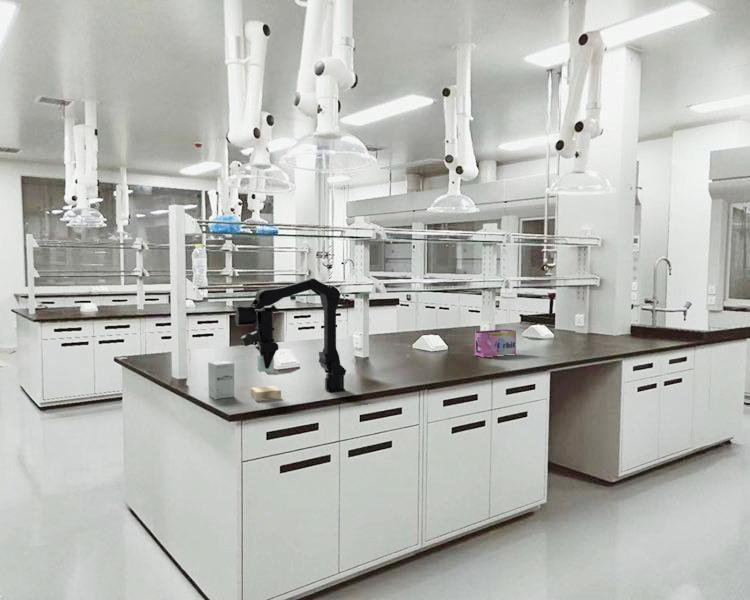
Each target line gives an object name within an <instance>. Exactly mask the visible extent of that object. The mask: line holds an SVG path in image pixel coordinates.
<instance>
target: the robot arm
mask: <svg viewBox="0 0 750 600" xmlns="http://www.w3.org/2000/svg"><path fill="white" fill-rule="evenodd" d="M310 290H311V291H312V292H313V293H315V294H316V295H317V296H319V299H320V303H321V306H322V309H323V343H324V344H323V345H324V346H323V349H322V351H319V352H318V356H319V358H318V363H319V365H320V367H321V368H322V369H323V370H324V372H325V374H326V375H325V378H324V389H325V390H326V391H327V392H329V393H332V392H333V393H334V392H344V391H345V392H346V388H345V376H346V373H347V369H346V368H345V367H343V365H342V364H341V360H340V355H339V352H338V349H337V309H338V306H339V304H340V299H341V292H340V290H339V289H338V288H336V287H335V286H334V287H333V286H329V285H327V284H324V283H322V282H321V281H318V280H317V279H316V278H312V277H311V278H307V279H305V280H302V281H297V282H295V283H292V284H287V285H285V286H282V287H276V288H275V287H274V288H265V289H260V290H258V291H257V292H256V294H255V297H254V298H255V299H254V300H253V301H252V303H251V304H250V305H249V306H236V310H235V314H234V320H235V326H237V327H238V326H239V327H240V326H243V327H244V326H254V324H255V323H256V327H255V331H253V332H249V333H247V334H246V333H245V334H244V335H242V336H241V337H240V338H241V342H242V344H243V346H244V347H248V346H250V345H251V344H253V346H254V348H255V349H257V351H259V356H263V359H264V364H265V368H266V369H268V368H269V366H270V364H271V361H272V359H273V357H274V356H275V354H276V352H277V351H279V344H278V343H277V342H276V341H275V338H274V331H275V327H274V313H278V312H279V311H280V310H279V309H278V308H277V307H276V306H275V305H274V304H275V303H278V302H279V301H281V300H282V299H285V298H287V297H291V296H293V295H296V294H300V293H304V292H308V291H310Z"/></svg>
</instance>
